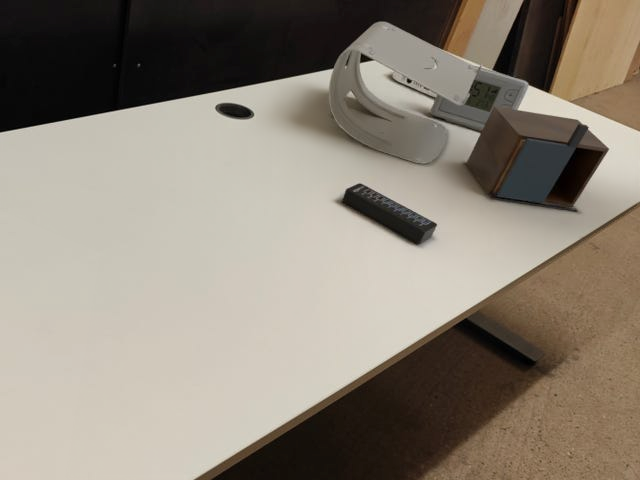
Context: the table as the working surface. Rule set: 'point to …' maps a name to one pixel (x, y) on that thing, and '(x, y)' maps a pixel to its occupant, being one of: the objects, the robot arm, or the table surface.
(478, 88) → the digital clock
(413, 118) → the laptop stand
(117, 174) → the table surface
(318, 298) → the table surface
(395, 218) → the multiport hub
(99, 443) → the table surface
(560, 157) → the sliding door
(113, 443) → the table surface
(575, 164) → the cupboard
